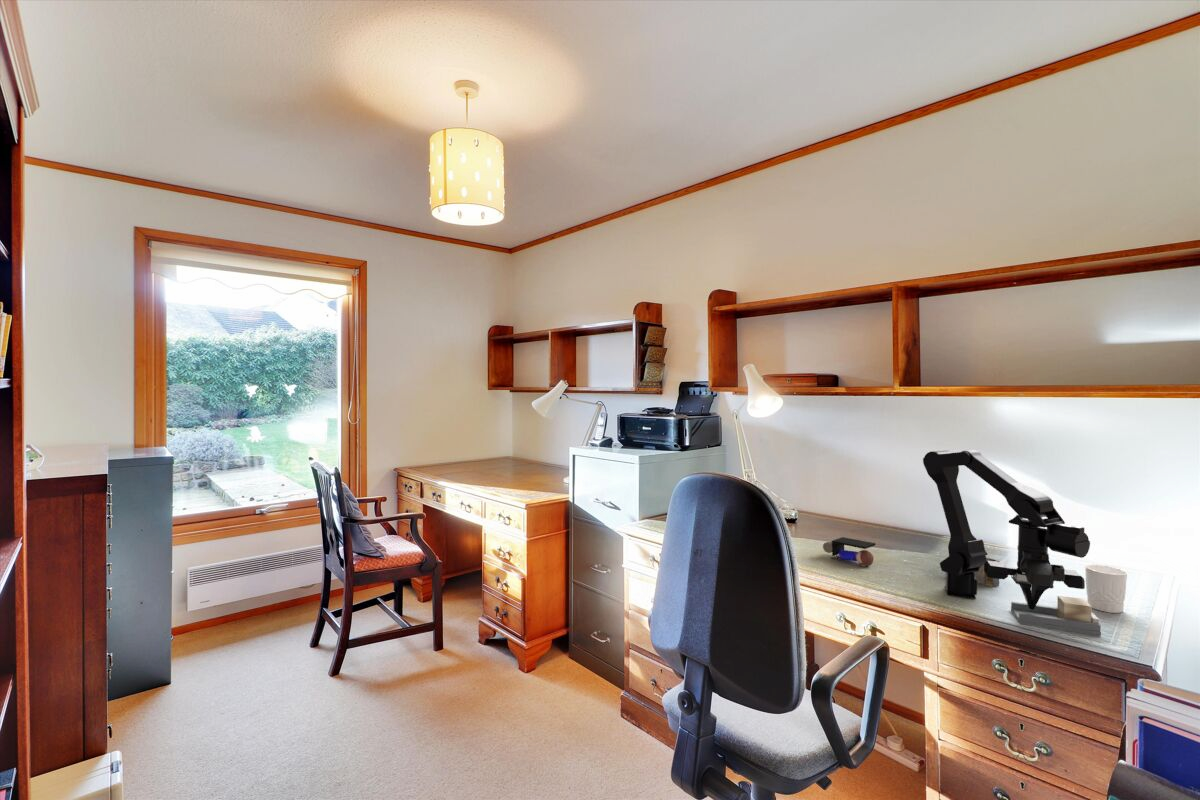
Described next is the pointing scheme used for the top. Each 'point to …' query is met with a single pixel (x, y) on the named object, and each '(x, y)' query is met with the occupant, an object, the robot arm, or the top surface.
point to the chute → (1053, 619)
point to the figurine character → (838, 549)
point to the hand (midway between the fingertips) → (1031, 608)
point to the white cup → (1106, 587)
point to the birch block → (1073, 609)
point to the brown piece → (983, 577)
